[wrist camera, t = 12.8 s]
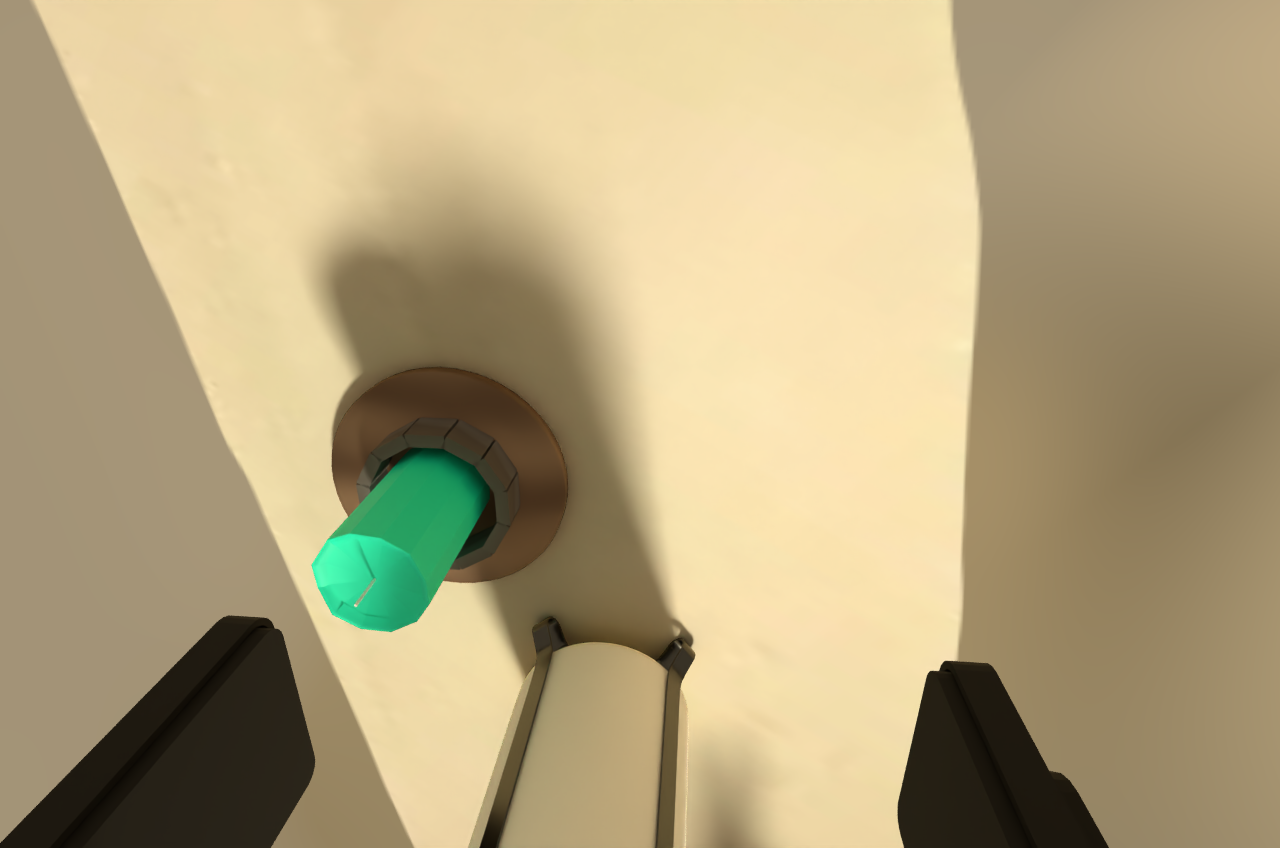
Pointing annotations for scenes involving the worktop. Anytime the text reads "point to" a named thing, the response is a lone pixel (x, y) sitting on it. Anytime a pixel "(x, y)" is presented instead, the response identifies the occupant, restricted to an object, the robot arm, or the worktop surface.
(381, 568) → the candle
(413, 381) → the candle holder
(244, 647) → the robot arm
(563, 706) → the coffee press
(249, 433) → the worktop surface
